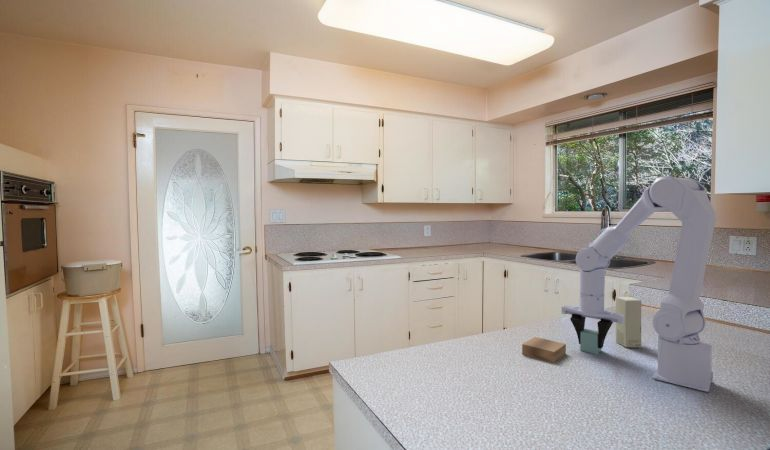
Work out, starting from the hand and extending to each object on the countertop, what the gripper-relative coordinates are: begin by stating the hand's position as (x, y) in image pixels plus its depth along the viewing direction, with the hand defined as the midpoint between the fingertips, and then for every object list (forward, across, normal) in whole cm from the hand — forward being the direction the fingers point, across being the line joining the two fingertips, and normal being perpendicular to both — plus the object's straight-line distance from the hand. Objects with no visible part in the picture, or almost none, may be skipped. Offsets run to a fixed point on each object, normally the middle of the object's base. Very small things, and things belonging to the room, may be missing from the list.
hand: (590, 345), depth 102 cm
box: (+2, -6, -12) cm, 14 cm away
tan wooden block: (+2, +8, +11) cm, 14 cm away
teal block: (+1, 0, 0) cm, 1 cm away
